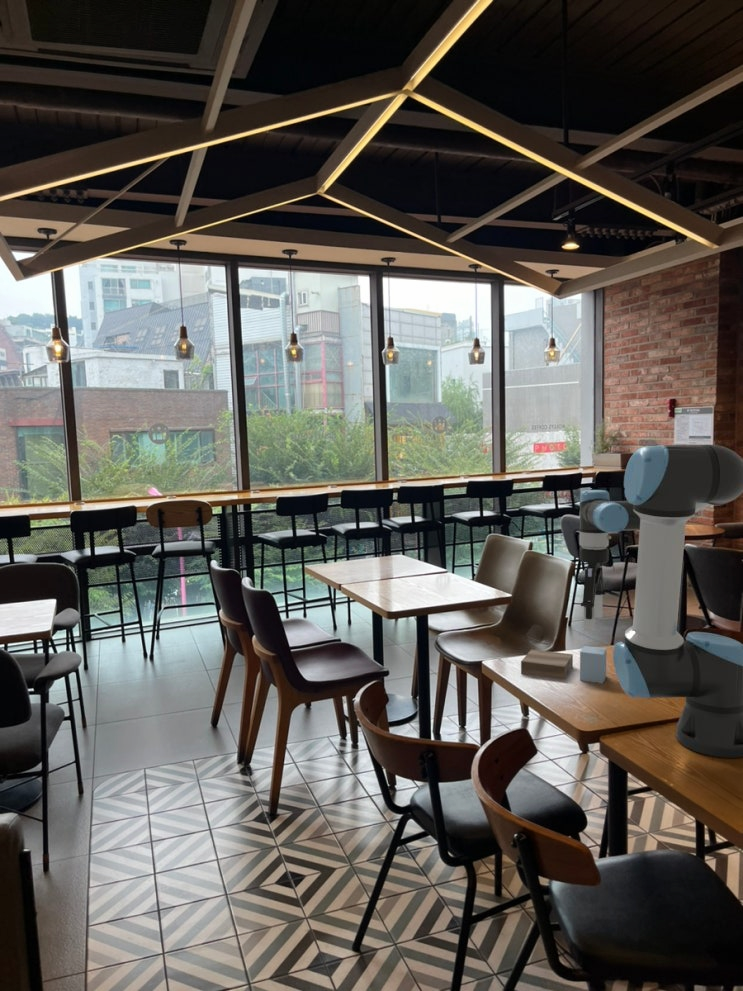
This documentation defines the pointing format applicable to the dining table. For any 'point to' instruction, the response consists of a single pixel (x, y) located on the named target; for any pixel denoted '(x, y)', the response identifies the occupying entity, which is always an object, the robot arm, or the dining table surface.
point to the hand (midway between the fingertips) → (593, 623)
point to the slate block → (593, 664)
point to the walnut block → (547, 664)
